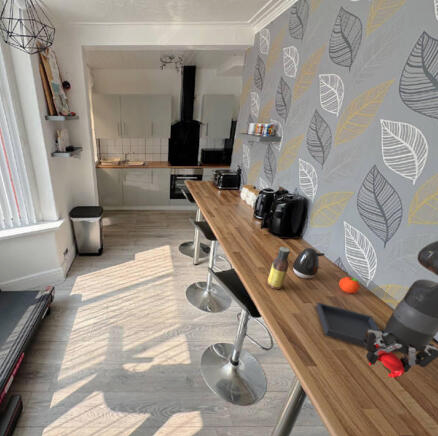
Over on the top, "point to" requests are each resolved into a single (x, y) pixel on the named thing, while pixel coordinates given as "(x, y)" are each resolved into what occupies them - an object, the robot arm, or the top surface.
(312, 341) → the top surface
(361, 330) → the tray
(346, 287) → the clementine
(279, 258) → the sauce bottle
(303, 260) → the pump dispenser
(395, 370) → the red animal figurine
